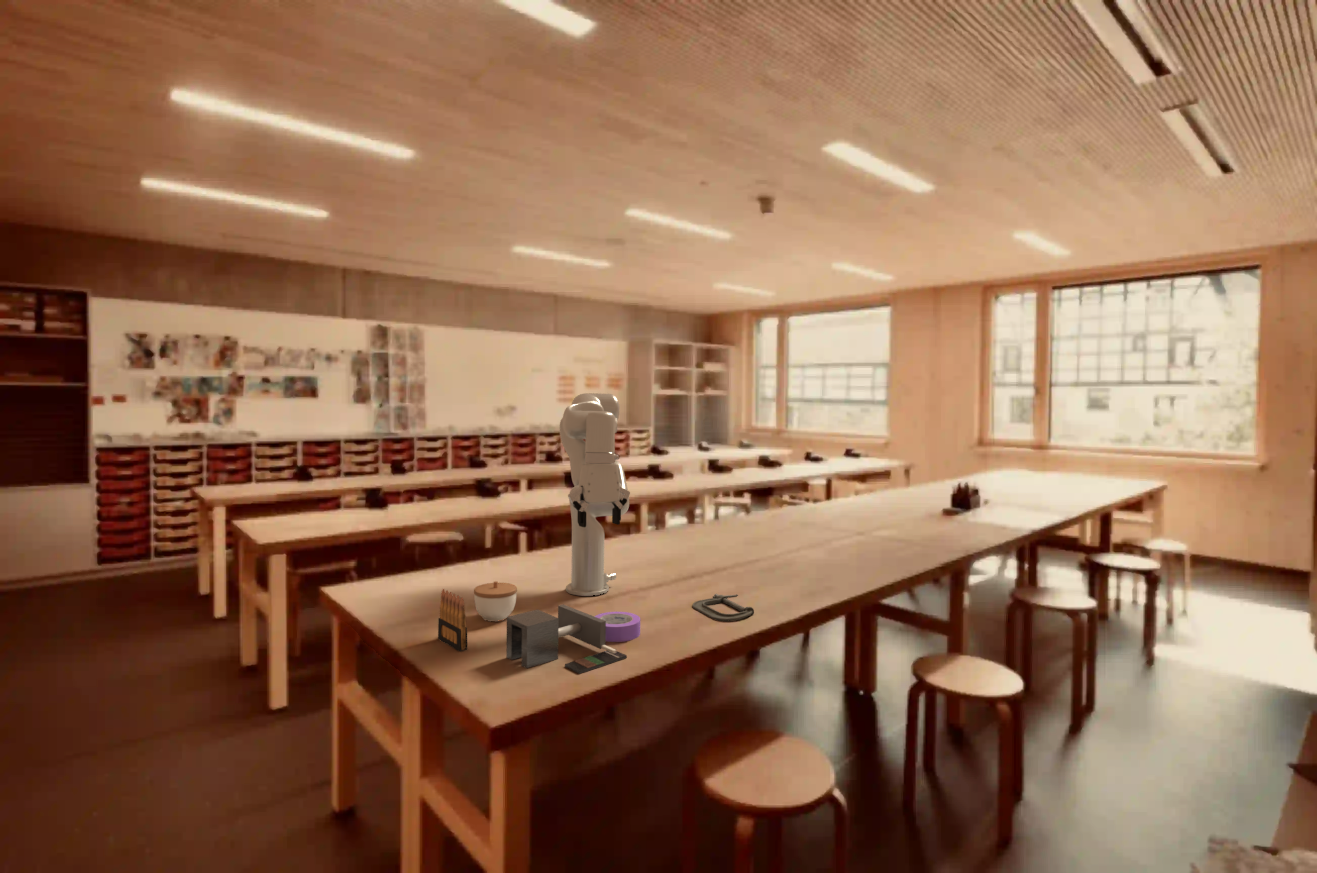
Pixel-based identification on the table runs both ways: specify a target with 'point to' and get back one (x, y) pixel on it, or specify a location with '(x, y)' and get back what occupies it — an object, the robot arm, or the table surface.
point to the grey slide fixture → (546, 643)
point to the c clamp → (716, 615)
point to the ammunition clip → (452, 621)
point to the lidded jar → (495, 600)
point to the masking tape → (620, 626)
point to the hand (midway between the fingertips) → (599, 525)
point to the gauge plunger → (582, 627)
